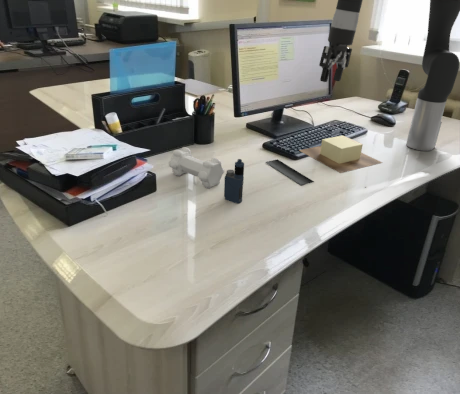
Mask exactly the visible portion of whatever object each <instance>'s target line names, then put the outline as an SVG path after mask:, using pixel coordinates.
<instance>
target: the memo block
mask: <svg viewBox="0 0 460 394" xmlns="http://www.w3.org/2000/svg"><path fill="white" fill-rule="evenodd" d="M363 145H364V144H363V143H360V142H358V141H356V140H354V139H352V138H350V137H348V136H345V135H337V136H334V137H328V138H327V137H326V138H323V139H321V145H320V146H321V151H320V154H321V155H323V156H325V157H327V158H329V159H331V160H333V161H335V162H337V163H339V164H340V163H344V162H349V161H353V160H357V159H360V156H361V153H362V150H363Z"/></svg>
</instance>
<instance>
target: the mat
mask: <svg viewBox="0 0 460 394" xmlns="http://www.w3.org/2000/svg"><path fill="white" fill-rule="evenodd" d="M265 164H267V165H268V166H270V167H272V168H273V169H275V170H276V171H278V172H279V173H281V174H282V175H283V176H285V177H287V178H288V179H290V180H292V181H293V182H295V183H297V184H298V185H300V186H304V185H308V184H312V183H315V181H314V180H312V179H311V178H309V177H307V176H306V175H304V174H303V173H301V172H299V171H297V169H294V168H293V167H291V166H290V165H287V164H286V163H285V162H283V161H281V160H280V159H273V160H269V161H265Z"/></svg>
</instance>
